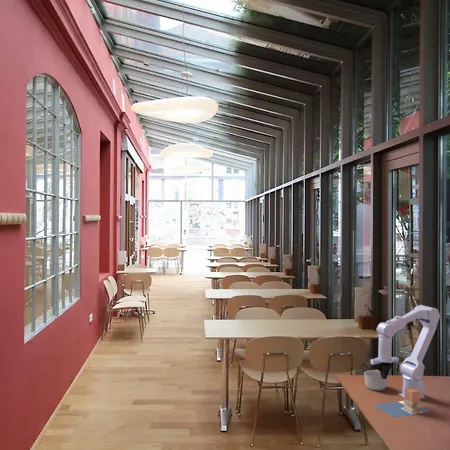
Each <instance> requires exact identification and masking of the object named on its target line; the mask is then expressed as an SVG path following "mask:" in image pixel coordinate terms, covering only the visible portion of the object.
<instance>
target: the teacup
mask: <svg viewBox="0 0 450 450" xmlns="http://www.w3.org/2000/svg"><path fill="white" fill-rule="evenodd" d="M363 374H364V384H365V386H366V387H367V388H368V390H372V391H379V392H380V391H384V390H385V389H386V388H387V386H388V378H387V379H382V378H381V374H380V370H378V369H375V370H374V369H372V370H365V371H364V373H363Z"/></svg>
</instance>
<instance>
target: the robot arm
mask: <svg viewBox="0 0 450 450" xmlns="http://www.w3.org/2000/svg"><path fill="white" fill-rule="evenodd" d="M440 317H441V314H440V312H439V309H437V308H436V307H431V306H427V305H423V304H418V305H417V306H415V307H414V308H413V309H412V310H411V311H410V312H408V313H405V314H404V315H402V316H400V315H395V316H394V317H393V318H391V319H390V320H386V321H385V322H379V324H378V325H377V327H376V328H375V329H376V330H375V331H376V333H377V335H378V336H377V337H378V350H377V351H378V353H377V354H378V356H377V357H375V358H372V359H370V364H371V365H372V366H373V365H376V366H377V368H378V369H379V370H378V371H380V374H381V378H382V379H387V380H388V375H389V372H390V371H391V368H392V367H393V364H392V363H399V360H400V359H399V357H397V356H392V346H393V345H392V344H393V342H392V341H393V337H394V336H395V334H396V333H397V332H398V331H400V330H402V329H404V328H405V327H406V324H408V323H410V322H413V321H415V320H417V319H418V321H419V322H420V323H421V324H422V326H423V327H422V328H421V331H420V334H419V335H418V338H417V340H416V342H415V345H414V348H413V350H412V352H411V354H410V356H408V357H405V359H404V361H403V362H402V363H401V364H400V366H399V372H400V374H401V377H402V393H401V392H400V393H398V395H399V396H401V397H403V398H405V389H406V388H415V389H417V390H419V391H421V392H420V400H421V399H425V398H426V397H425V382H424V380H423V379H422V378H424V377H423V376H424V372H425V371H424V370H425V369H426V367H425V365H424V363H423V360H424V357H425V355H426V353H427V351H428V349H429V346H430V344H431V341H432V339H433V337H434V334H435V332H436V329H437V326H438V322H439V320H440Z"/></svg>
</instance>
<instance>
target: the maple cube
mask: <svg viewBox="0 0 450 450" xmlns="http://www.w3.org/2000/svg"><path fill="white" fill-rule="evenodd" d="M403 401H404V409H405V410H407V411H409V412H411V413H413V412H420V406H421V400H420V401H419V402H410V401H408V400H406V399H405V398H404V400H403Z"/></svg>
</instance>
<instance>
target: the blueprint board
mask: <svg viewBox="0 0 450 450" xmlns="http://www.w3.org/2000/svg"><path fill="white" fill-rule="evenodd" d="M404 401H405V400H401V401H392V402H385V403H377V404H373V406H374V407H375V408H377V409H379V410H381V412H382V411H383V412H384V413H386V414H388V415H389V416H391V417H393V418H401V417H406V416H413V415H414V416H415V415H419V414H427V413H431V412H432V411H431V410H429V409H426V408H425V407H423V406H421V405H420V412H413V413H411V412H409V411H407V410H405V409H404Z"/></svg>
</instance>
